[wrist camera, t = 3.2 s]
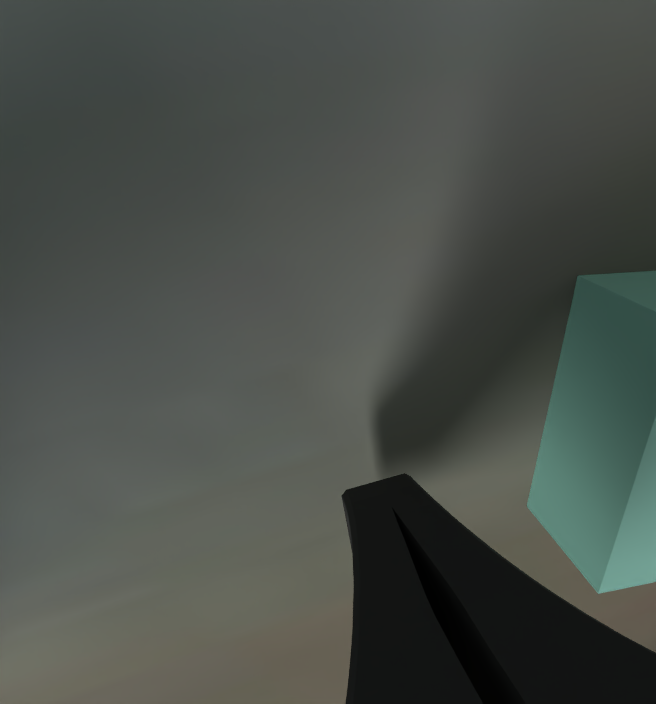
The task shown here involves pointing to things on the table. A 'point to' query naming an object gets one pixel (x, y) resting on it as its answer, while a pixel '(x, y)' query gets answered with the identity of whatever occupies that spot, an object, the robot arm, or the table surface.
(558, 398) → the green paperback
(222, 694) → the table surface
